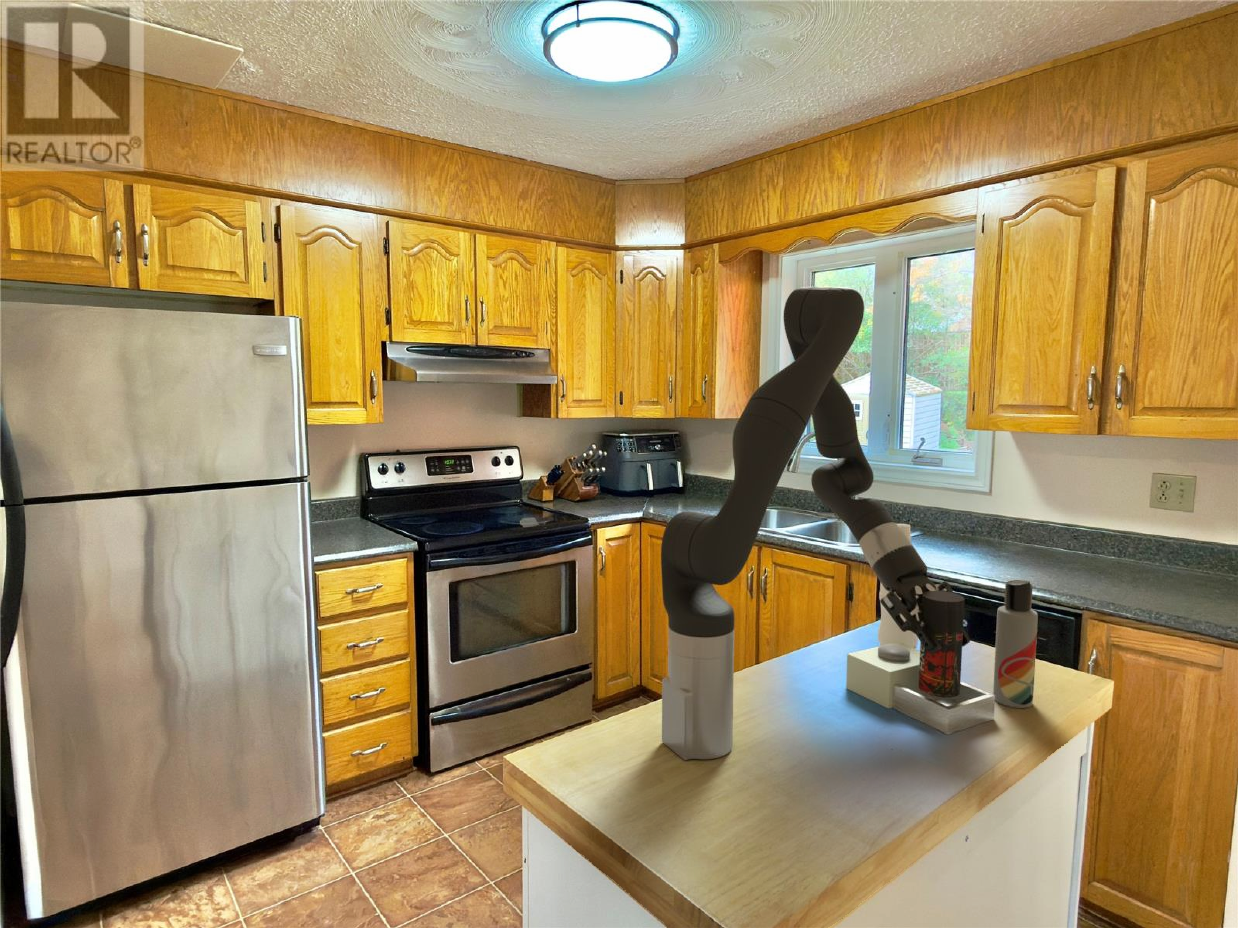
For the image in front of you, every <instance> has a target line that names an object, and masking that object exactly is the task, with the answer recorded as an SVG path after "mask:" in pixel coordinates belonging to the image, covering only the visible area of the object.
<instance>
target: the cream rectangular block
mask: <svg viewBox="0 0 1238 928" xmlns="http://www.w3.org/2000/svg"><path fill="white" fill-rule="evenodd" d="M846 657H847V658H846V679H845V680H846V683H845V684H846V687H845V689H847V690H849V691H851V692H854V693H856V694H858V695H859V696H862V697H864V698H865V699H868V700H870V701H872V702H874V703H876V704H878V705H880V706H883V707H884V708H886V709H893V708H892V688H893V684H898V685H900V686H902V687H905V688H907V689H909V690H911V691H914V692H916V693H918V694H925V692H923V691H921V690H920V689H919V664H920V649H919V650H918V649H917V648H916V649H914V648H911V647H908V646H906V645H903V644H900V643H898V642H896V643H892V644H888V645H883V646H880V645H879V646H876V647H871V648H867V649H866V648H865V649H862V650H858V651H854V652H850V653H846Z"/></svg>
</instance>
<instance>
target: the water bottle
mask: <svg viewBox="0 0 1238 928" xmlns="http://www.w3.org/2000/svg"><path fill="white" fill-rule="evenodd" d="M896 524H897V525H898V527H899V528H900V529H901V530H902V531H903V532H904V533H905V535H906V536H907V538H908V539H909V541H910V542H911V539H912V538H913V537H912V535H911V534H912V533H911V530H912V529H911V525H910V524H907V523H896ZM879 582H880V581H879ZM879 588H880V589H879V593H878V595H879V597H878V598H879V603H880V615H881V616H880V623H879V626H878V627H879V628H878V630H877V641H878V643H879V646H883V645H888V644H892V643H896V642H898V643H900V644H903V645H906V646H908V647H911V648H914V649H916V650H917V647H918V641H919V638H918V637H917V635H916V634H914V633H912V632H911V631H908V630H907V631H906V632H903V631H902V630H901V629H900V628H899V626H898V625H897V624H896V622H895V621H894V620H893V618H892V617H891V616H890V614H889V613H888V612H887V610H886V609H885V608H884V606H883V605H882V603H881V601H880V600H881V599H882V598H883V597H884V596H886V595H887V594H888V593H889V592H890V591H887V590H885V588H884V587H883V585H882V583H881V582H880V587H879ZM900 617H901V618H902V619H903V621H904V622H905V621H906V619H905V618H904V617H903V615H902V614H900Z"/></svg>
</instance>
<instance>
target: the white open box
mask: <svg viewBox="0 0 1238 928" xmlns="http://www.w3.org/2000/svg"><path fill="white" fill-rule="evenodd" d="M995 704H996V700H995V695H993V693H991V692H987V691H985V690H983V689H980V688H978V687H975V686H973V685H970V684H967V683H966V682H963V681H960V694H959V695H958V696H955V697H949V698H947V697H937V696H933V695H930V694H927V693H925V694H918V693H916V692H914V691H911V690H909V689H907V688H905V687H902V686H900V685H898V684H893V688H892V708H891V709H893V710H896V711H897V712H900V713H902V714H904V715H906V716H908V717H911V718H912V719H915V720H916V721H918V722H921V723H923V724H924V725H927V726H929V727H931V728H933V729H934V730H937V729H938V730H937V731H939V730H940V732H941V733H943V732H944V733H943V734H946V735H952V734H954V733H956V732H959V731H963V730H965V729H968V728H972V727H974V726H977V725H980V724H983V723H986V722H987V723H988V722H989V721H992V720H995ZM953 732H954V733H953Z"/></svg>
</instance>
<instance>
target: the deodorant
mask: <svg viewBox="0 0 1238 928" xmlns="http://www.w3.org/2000/svg"><path fill="white" fill-rule="evenodd" d="M965 600H966V599H965V597H964V596H963V595H961V594H958V593H955V592H954V593H951V592H945V591H927V592H924V593H923V594H922V606H923V610H924V612H923V615H924V617H925V620H926V624H927V625H926V627H928V626H929V628H930V629H931V631H932V632H933V634H934V635H935V637H936V638H937V640H938V642H939V643H940V645H941V647H942V648H941V650H940V651H938V652H937V653H935V654H929V653H928V651H927V650H926V649H925V648H924V647H923V645H922V643H921V642H920V641H919V643H920V644H919V645H920V646H919V651H920V664H919V689H920V690H921V691H923V692H925V693H927V694H930V695H933V696H937V697H947V698H949V697H955V696H958V695H959V694H960V682H961V680H962V679H961V676H962V658H963V657H962V656H963V647H962V640H963V628H964V617H965V615H964V614H965Z"/></svg>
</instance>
